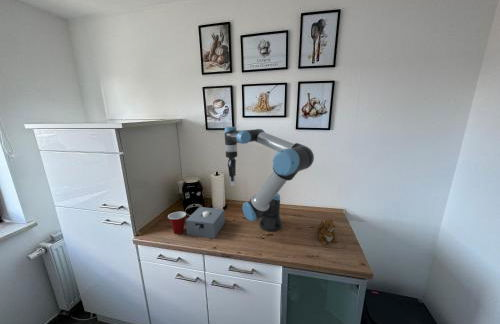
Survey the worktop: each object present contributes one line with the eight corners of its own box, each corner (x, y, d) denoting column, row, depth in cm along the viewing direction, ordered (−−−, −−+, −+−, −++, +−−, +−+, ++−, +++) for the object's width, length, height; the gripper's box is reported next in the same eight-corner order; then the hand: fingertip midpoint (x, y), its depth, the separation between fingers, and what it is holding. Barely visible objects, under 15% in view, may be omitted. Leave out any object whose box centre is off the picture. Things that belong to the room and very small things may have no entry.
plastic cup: (190, 226, 132) (188, 210, 129) (184, 236, 122) (182, 219, 119) (174, 226, 133) (172, 210, 130) (166, 236, 122) (164, 218, 120)
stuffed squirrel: (323, 246, 112) (325, 225, 108) (311, 232, 125) (312, 213, 122) (339, 244, 114) (342, 223, 110) (325, 230, 127) (327, 211, 124)
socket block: (224, 222, 137) (224, 209, 134) (214, 238, 120) (213, 223, 117) (200, 219, 141) (199, 206, 138) (187, 234, 124) (185, 220, 121)
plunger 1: (207, 222, 125) (207, 219, 125) (200, 230, 117) (200, 227, 116) (200, 222, 126) (200, 218, 126) (193, 230, 118) (193, 226, 117)
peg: (211, 226, 132) (210, 211, 130) (208, 230, 128) (207, 214, 126) (205, 225, 133) (204, 210, 131) (202, 229, 129) (201, 214, 127)
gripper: (228, 149, 137) (230, 182, 142) (222, 152, 124) (225, 188, 130) (239, 149, 136) (240, 182, 141) (234, 152, 123) (236, 188, 128)
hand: (233, 185), depth 135 cm, fingers closed
